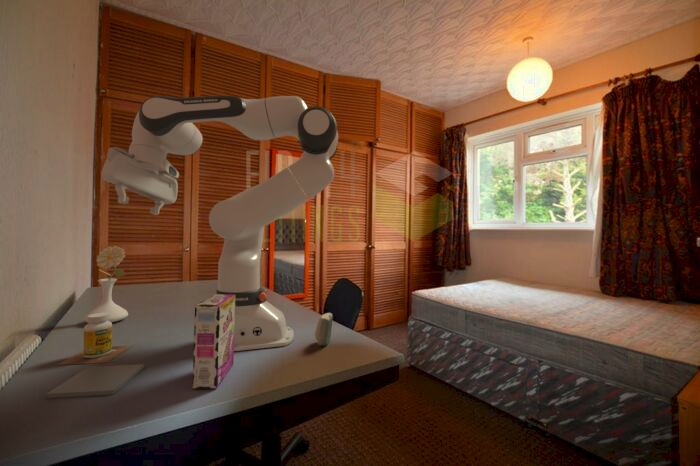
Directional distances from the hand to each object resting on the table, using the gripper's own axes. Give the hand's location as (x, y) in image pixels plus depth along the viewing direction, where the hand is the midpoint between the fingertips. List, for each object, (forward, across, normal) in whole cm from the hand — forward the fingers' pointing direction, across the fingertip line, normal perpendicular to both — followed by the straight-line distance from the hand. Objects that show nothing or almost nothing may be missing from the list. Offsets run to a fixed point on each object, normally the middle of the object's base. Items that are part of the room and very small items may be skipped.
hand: (139, 209), depth 82 cm
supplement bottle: (+37, 0, +5) cm, 37 cm away
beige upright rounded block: (+37, +22, -45) cm, 62 cm away
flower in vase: (+30, +20, +29) cm, 46 cm away
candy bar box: (+41, -1, -28) cm, 50 cm away
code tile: (+37, 0, +5) cm, 37 cm away
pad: (+40, -10, -8) cm, 42 cm away
